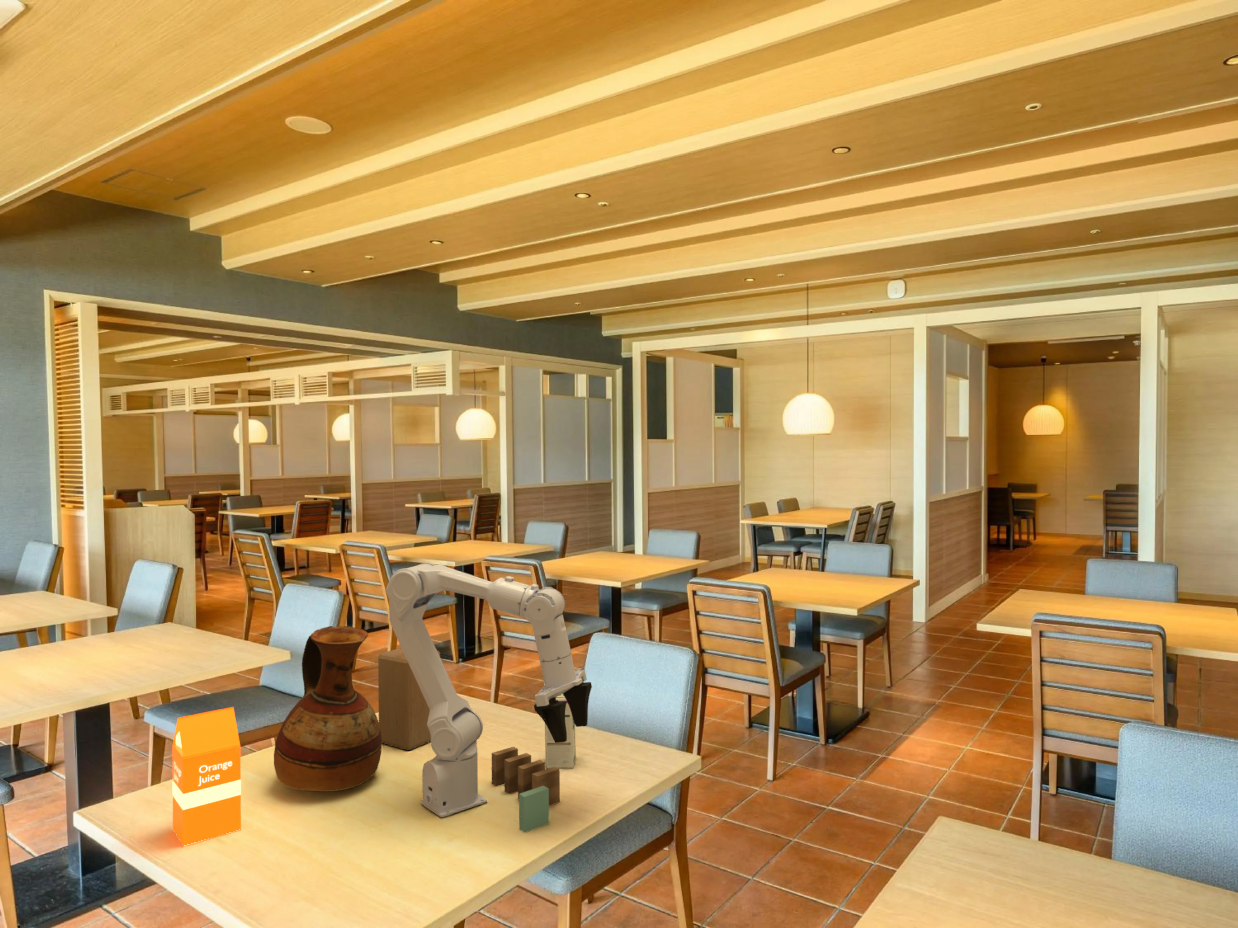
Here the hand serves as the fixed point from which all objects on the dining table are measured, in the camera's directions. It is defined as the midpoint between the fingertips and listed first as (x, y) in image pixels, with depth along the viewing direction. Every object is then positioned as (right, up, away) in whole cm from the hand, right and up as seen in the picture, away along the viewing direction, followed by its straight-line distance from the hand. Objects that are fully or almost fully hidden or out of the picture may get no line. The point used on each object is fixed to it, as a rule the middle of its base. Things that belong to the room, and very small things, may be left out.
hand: (571, 733), depth 136 cm
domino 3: (-8, -14, +7) cm, 18 cm away
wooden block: (-38, -15, +37) cm, 55 cm away
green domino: (-6, -14, -4) cm, 16 cm away
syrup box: (-4, -14, +23) cm, 27 cm away
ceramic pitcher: (-48, -15, +14) cm, 52 cm away
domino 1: (-14, -14, +14) cm, 24 cm away
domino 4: (-5, -14, +4) cm, 16 cm away
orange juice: (-61, -15, -5) cm, 63 cm away
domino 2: (-11, -14, +11) cm, 21 cm away
